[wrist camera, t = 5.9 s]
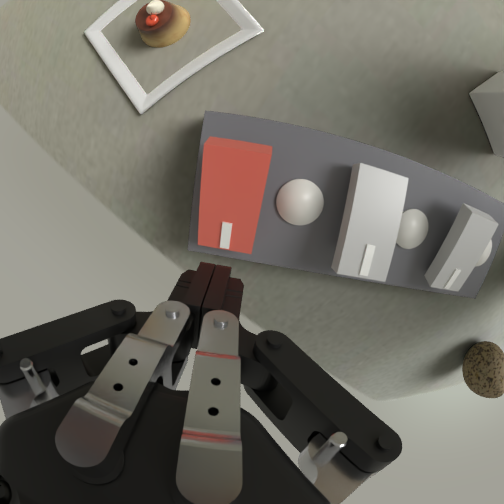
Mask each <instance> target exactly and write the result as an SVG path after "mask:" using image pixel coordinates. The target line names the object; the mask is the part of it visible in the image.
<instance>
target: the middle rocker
mask: <svg viewBox="0 0 504 504" xmlns="http://www.w3.org/2000/svg"><path fill="white" fill-rule="evenodd" d="M408 179H409V178H406V177H403V176H401V175H398V174H395V173H392V172H389V171H386V170H382V169H379V168H376V167H373V166H370V165H366V164H363V163H357V164H353V166H352V172H351V178H350V183H349V189H348V194H347V199H346V204H345V209H344V214H343V219H342V224H341V228H340V233H339V237H338V242H337V246H336V250H335V254H334V258H333V263H332V267H331V268H332V269H333V270H334V271H335V272H336V273H337V274H342V275H347V276H353V277H359V278H365V279H371V280H377V281H383V282H385V281H386V277H387V274H388V270H389V267H390V263H391V260H392V256H393V252H394V248H395V244H396V240H397V235H398V231H399V227H400V222H401V217H402V213H403V207H404V202H405V197H406V191H407V185H408Z"/></svg>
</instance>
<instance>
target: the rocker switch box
mask: <svg viewBox="0 0 504 504" xmlns="http://www.w3.org/2000/svg"><path fill="white" fill-rule="evenodd" d="M210 136H211V137H218V138H226V139H232V140H239V141H245V142H251V143H257V144H263V145H268V146H272V156H271V161H270V166H269V171H268V176H267V180H266V185H265V190H264V195H263V200H262V205H261V210H260V214H259V219H258V224H257V229H256V234H255V239H254V243H253V248H252V253H251V254H247V253H241V252H236V251H230V250H225V249H219V248H213V247H208V246H202V245H198V225H199V206H200V189H201V174H202V161H203V149H204V143H205V142H206V141H207V139H208V138H209V137H210ZM357 163H363V164H366V165H370V166H373V167H376V168H379V169H382V170H386V171H389V172H392V173H395V174H398V175H401V176H403V177H406V178H409V179H408V185H407V191H406V197H405V202H404V207H403V213H402V217H401V222H400V227H399V231H398V235H397V240H396V244H395V248H394V252H393V256H392V260H391V263H390V267H389V270H388V274H387V277H386V281H385V282H383V281H377V280H371V279H365V278H359V277H353V276H347V275H342V274H337V273H336V272H335V271H334V270H333V269H332V268H331V267H332V263H333V258H334V254H335V250H336V246H337V242H338V237H339V233H340V228H341V224H342V219H343V214H344V209H345V204H346V199H347V194H348V189H349V183H350V178H351V172H352V166H353V164H357ZM463 203H465V204H467V205H469V206H471V207H474V208H476V209H478V210H480V211H482V212H485V213H487V214H489V215H490V216H491V217H492V218H493V219H494V220H495V221H496V222H497V223H498V224H499V225H498V227H497V229H496V231H495V232H494V234H493V236H492V238H491V240H490V242H489V243H488V245H487V247H486V249H485V250H484V252H483V254H482V256H481V257H480V259H479V261H478V262H477V264H476V265H475V267H474V269H473V270H472V272H471V273H470V275H469V276H468V278H467V279H466V281H465V282H464V284H463V285H462V287H461V288H460V290H459V291H458V292H457V291H452V290H446V289H440V288H434V287H430V285H429V283H428V282H427V280H426V278H425V276H424V275H425V274H426V272H427V270H428V269H429V267H430V265H431V264H432V262H433V260H434V258H435V257H436V255H437V253H438V251H439V250H440V248H441V246H442V244H443V242H444V240H445V239H446V237H447V235H448V233H449V231H450V229H451V227H452V225H453V223H454V221H455V219H456V217H457V215H458V213H459V211H460V209H461V206H462V204H463ZM503 233H504V203H502V202H500V201H499V200H497V199H495V198H493V197H491V196H489V195H488V194H486V193H484V192H482V191H480V190H478V189H476V188H474V187H472V186H470V185H468V184H466V183H464V182H462V181H460V180H458V179H456V178H453V177H451V176H449V175H447V174H445V173H442V172H440V171H438V170H435V169H433V168H431V167H428V166H426V165H423V164H421V163H418V162H416V161H413V160H411V159H408V158H405V157H403V156H400V155H397V154H395V153H392V152H389V151H386V150H383V149H380V148H377V147H374V146H371V145H368V144H365V143H362V142H358V141H355V140H352V139H348V138H345V137H341V136H337V135H334V134H330V133H326V132H322V131H318V130H314V129H310V128H306V127H301V126H297V125H292V124H288V123H283V122H278V121H272V120H267V119H261V118H256V117H249V116H243V115H236V114H229V113H221V112H213V111H205V114H204V120H203V127H202V133H201V139H200V146H199V153H198V160H197V168H196V175H195V183H194V191H193V200H192V209H191V219H190V229H189V240H188V250H190V251H196V252H201V253H207V254H212V255H218V256H223V257H229V258H235V259H240V260H246V261H252V262H257V263H263V264H269V265H274V266H280V267H286V268H292V269H297V270H303V271H309V272H315V273H321V274H327V275H333V276H338V277H344V278H350V279H356V280H362V281H368V282H375V283H381V284H387V285H393V286H399V287H405V288H411V289H418V290H424V291H430V292H437V293H443V294H449V295H456V296H462V297H469V298H476V296H477V294H478V292H479V290H480V288H481V286H482V284H483V282H484V280H485V277H486V275H487V273H488V271H489V269H490V266H491V264H492V261H493V259H494V257H495V254H496V252H497V249H498V246H499V244H500V241H501V238H502V236H503Z"/></svg>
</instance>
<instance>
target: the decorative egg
mask: <svg viewBox="0 0 504 504" xmlns="http://www.w3.org/2000/svg"><path fill="white" fill-rule="evenodd" d="M462 371H463V377H464V380H465V382H466V384H467V386H468V387H469V388H470V389H471V390H472V391H473V392H474V393H476V394H478V395H480V396H483V397H486V398H497V397H500V396H501V395H502V394H503V393H504V353H503V351H502V350H501V349H500V347H499V346H497V345H496V344H494V343H492V342H487V341H484V342H479V343H477V344H475V345H474V346H472V347H471V348H470V349H469V350H468V352H467V353H466V355H465V358H464V361H463V366H462Z"/></svg>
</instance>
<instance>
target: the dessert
mask: <svg viewBox="0 0 504 504" xmlns="http://www.w3.org/2000/svg"><path fill="white" fill-rule="evenodd" d="M136 1H137V0H119V1H117V2H116V3H115V4H114V5H112V6H111V7H110V8H109V9H108V10H107V11H105V12H104V13H103V14H102V15H101V16H100V17H99V18H98V19H96V20H95V21H94V22H93V23H92V24H91V25H90V26H89V27H88V28H87V29H86V30H85V31H84V34H85V35H86V37H87V38H88V40H89V41H90V42H91V44H92V45H93V47H94V48H95V50H96V51H97V53H98V54H99V56H100V57H101V59H102V60H103V61H104V63H105V64H106V66H107V67H108V69H109V70H110V72H111V73H112V75H113V76H114V77H115V79H116V80H117V82H118V83H119V85H120V86H121V87H122V89H123V90H124V92H125V93H126V95H127V96H128V98H129V99H130V100H131V102H132V103H133V105H134V106H135V108H136V109H137V110H138V112H139V113H140V114H143V113H144V112H145V111H146V110H147V109H149V108H150V107H151V106H152V105H153V104H155V103H156V102H157V101H158V100H160V99H161V98H162V97H163V96H165V95H166V94H167V93H168V92H170V91H171V90H172V89H174V88H175V87H176V86H178V85H179V84H180V83H182V82H183V81H184V80H186V79H187V78H189V77H190V76H191V75H193V74H194V73H196V72H197V71H199V70H200V69H202V68H203V67H205V66H206V65H208V64H209V63H211V62H212V61H214V60H215V59H217V58H218V57H220V56H222V55H223V54H225V53H227V52H228V51H230V50H232V49H233V48H235V47H237V46H238V45H240V44H242V43H244V42H245V41H247V40H249V39H251V38H253V37H255V36H256V35H258V34H260V33H262V32H264V29H263V28H262V27H261V25H260V24H259V23H258V22H257V21H256V20H255V19H254V17H253V16H252V15H251V14H250V13H249V12H248V11H247V10H246V9H245V7H244V6H243V5H242V4H241V3H240V2H239V1H238V0H216V1H217V2H218V3H219V4H220V5H221V6H222V7H223V8H224V9H225V11H226V12H227V13H228V14H229V15H230V16H231V17H232V18H233V20H234V21H235V22H236V23H237V24H238V25H239V26H240V28H241V30H240V31H239V32H237V33H235V34H234V35H232V36H230V37H228V38H227V39H225V40H223V41H222V42H220V43H218V44H217V45H215V46H214V47H212V48H210V49H209V50H207V51H206V52H204V53H203V54H201V55H200V56H198V57H197V58H195V59H194V60H192V61H191V62H190V63H188V64H187V65H185V66H184V67H182V68H181V69H180V70H178V71H177V72H176V73H174V74H173V75H172V76H170V77H169V78H168V79H166V80H165V81H164V82H163V83H161V84H160V85H159V86H158V87H156V88H155V89H154V90H153V91H151V92H150V93H149V94H146V93H145V91H144V90H143V89H142V87H141V86H140V84H139V83H138V82H137V80H136V79H135V78H134V76H133V75H132V73H131V72H130V71H129V69H128V68H127V66H126V65H125V64H124V62H123V61H122V60H121V58H120V57H119V55H118V54H117V53H116V51H115V50H114V49H113V47H112V46H111V45H110V43H109V42H108V40H107V39H106V38H105V36H104V35H103V34H102V32H101V30H102V29H103V28H104V27H105V26H106V25H107V24H108V23H110V22H111V21H112V20H113V19H114V18H115V17H117V16H118V15H119V14H120V13H121V12H123V11H124V10H125V9H126V8H128V7H129V6H130V5H132V4H133V3H134V2H136ZM135 23H136V26H137V28H138V31H139V33H140V35H141V38H142V40H143V41H144V43H146V44H147V45H149V46H151V47H166V46H169V45H171V44H173V43H175V42H177V41H178V40H180V39H181V38H182V37H183V36H184V35H185V33H186V32H187V30H188V28H189V26H190V15H189V13H188V11H187V10H186V9H185V8H183V7H181V6H178V5H175V4H173V3H170V2H167V1H163V0H154V1H151V2H150V3H148V4H146V5H145V6H143V7H142V8H141V9H140V10H139V12H138V13H137V15H136V19H135Z"/></svg>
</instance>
